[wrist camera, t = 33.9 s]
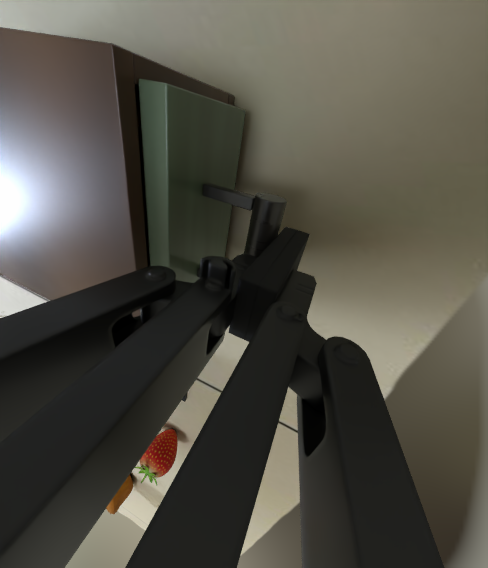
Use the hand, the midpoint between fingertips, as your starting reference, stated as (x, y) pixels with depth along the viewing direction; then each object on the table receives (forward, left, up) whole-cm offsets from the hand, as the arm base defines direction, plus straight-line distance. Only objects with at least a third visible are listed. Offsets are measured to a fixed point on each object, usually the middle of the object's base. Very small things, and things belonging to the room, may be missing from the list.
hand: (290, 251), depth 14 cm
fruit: (+36, +22, -3) cm, 42 cm away
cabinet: (+10, -10, -3) cm, 15 cm away
